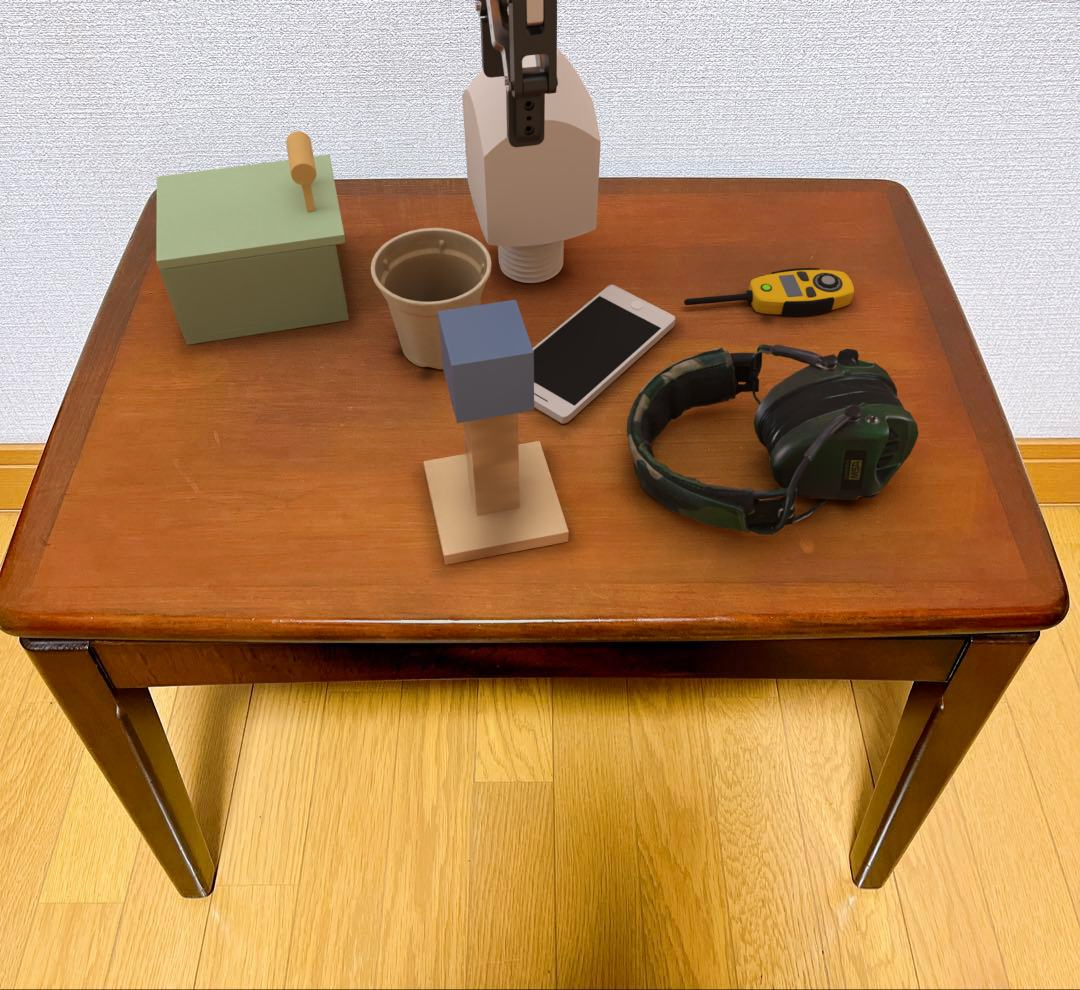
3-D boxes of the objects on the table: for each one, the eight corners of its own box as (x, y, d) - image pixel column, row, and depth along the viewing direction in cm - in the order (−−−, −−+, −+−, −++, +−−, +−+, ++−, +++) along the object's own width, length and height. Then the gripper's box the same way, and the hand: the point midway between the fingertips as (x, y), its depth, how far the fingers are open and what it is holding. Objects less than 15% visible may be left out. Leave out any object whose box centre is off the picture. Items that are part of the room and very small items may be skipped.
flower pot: (516, 333, 87) (514, 251, 80) (454, 401, 82) (446, 318, 75) (426, 296, 90) (417, 214, 83) (361, 359, 85) (346, 276, 78)
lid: (331, 162, 89) (320, 105, 85) (346, 243, 82) (335, 184, 78) (159, 185, 87) (140, 127, 83) (159, 269, 80) (137, 211, 76)
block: (457, 423, 64) (451, 365, 60) (443, 369, 67) (437, 311, 63) (534, 410, 64) (533, 352, 60) (517, 357, 67) (515, 299, 64)
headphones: (853, 315, 80) (605, 374, 80) (919, 303, 66) (622, 374, 66) (885, 480, 81) (642, 537, 81) (956, 500, 68) (665, 569, 68)
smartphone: (676, 324, 87) (677, 316, 87) (564, 425, 80) (564, 417, 79) (610, 290, 90) (611, 282, 89) (496, 385, 83) (496, 377, 82)
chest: (335, 239, 95) (320, 164, 89) (349, 320, 88) (334, 245, 82) (184, 260, 93) (159, 185, 87) (186, 345, 86) (159, 270, 80)
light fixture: (593, 288, 91) (603, 75, 75) (491, 304, 89) (480, 90, 74) (567, 226, 96) (572, 17, 81) (471, 240, 95) (457, 30, 79)
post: (445, 565, 71) (430, 452, 62) (424, 471, 77) (408, 354, 68) (568, 541, 73) (572, 427, 63) (539, 450, 78) (539, 333, 69)
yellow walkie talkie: (862, 295, 87) (691, 309, 86) (856, 312, 88) (689, 327, 87) (844, 260, 90) (679, 274, 89) (839, 278, 92) (676, 291, 90)
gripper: (416, -222, 56) (437, 59, 69) (458, -127, 48) (473, 176, 60) (547, -230, 58) (544, 48, 70) (612, -139, 49) (596, 161, 61)
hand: (512, 107), depth 65 cm, fingers open, 8 cm apart
